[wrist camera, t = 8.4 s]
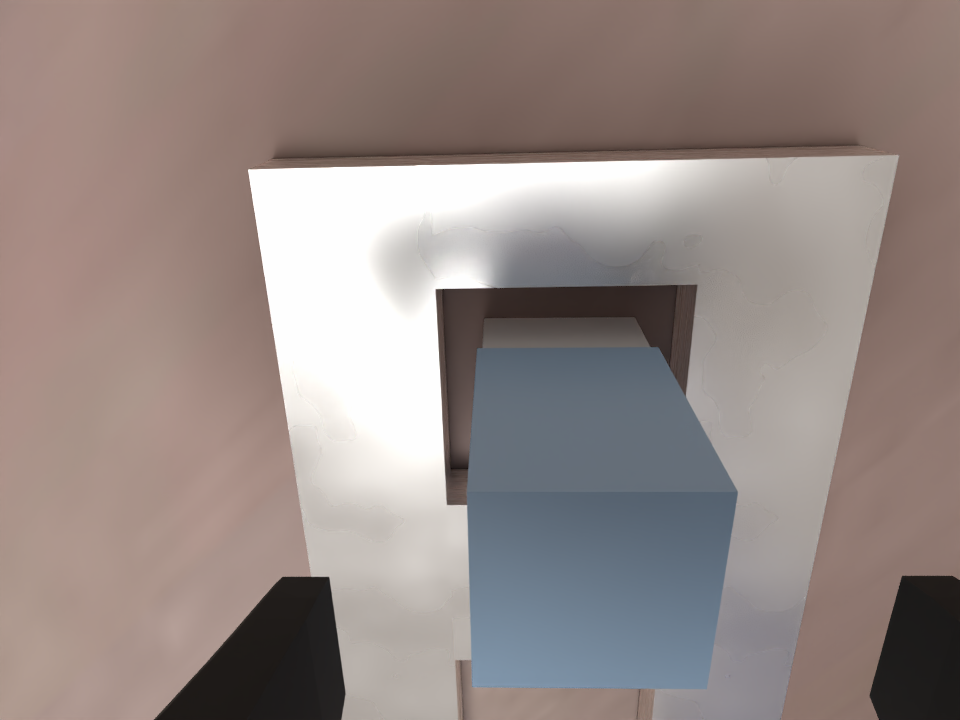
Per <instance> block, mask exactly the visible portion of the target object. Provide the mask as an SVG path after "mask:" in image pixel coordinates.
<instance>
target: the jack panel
mask: <svg viewBox="0 0 960 720" xmlns="http://www.w3.org/2000/svg"><path fill="white" fill-rule="evenodd" d="M898 158H899V155H897V154H893V153H889V152H885V151H881V150H877V149H873V148H869V147H864V146H860V145H855V146H811V147H768V148H724V149H680V150H636V151H593V152H549V153H505V154H462V155H418V156H374V157H330V158H287V159H271V160H268V161H266V162H264V163H262V164H260V165H257V166H255V167H253V168H251V169H249V170H248V171H249V178H250V184H251V191H252V197H253V203H254V210H255V216H256V223H257V229H258V236H259V242H260V249H261V255H262V262H263V268H264V274H265V281H266V287H267V294H268V300H269V307H270V313H271V320H272V326H273V333H274V339H275V345H276V352H277V358H278V365H279V371H280V378H281V384H282V391H283V397H284V404H285V410H286V416H287V423H288V429H289V436H290V442H291V449H292V455H293V462H294V468H295V475H296V481H297V487H298V494H299V500H300V507H301V513H302V520H303V526H304V533H305V539H306V546H307V552H308V558H309V565H310V571H311V577H329V578H330V585H331V592H332V599H333V606H334V613H335V620H336V628H337V635H338V642H339V649H340V656H341V663H342V670H343V678H344V685H345V692H346V695H345V701H344V707H343V713H342V719H341V720H463V706H462V685H461V665H460V660H471V625H470V590H469V554H468V519H467V482H468V469H460V470H451V462H450V441H449V421H448V401H447V380H446V360H445V340H444V319H443V299H442V289H460V288H520V287H581V286H641V285H677V296H676V307H675V317H674V328H673V339H672V350H671V360H670V369H671V371H672V373H673V375H674V377H675V378H676V380H677V382H678V384H679V386H680V387H681V389H682V391H683V393H684V395H685V397H686V398H687V400H688V402H689V404H690V406H691V407H692V409H693V411H694V413H695V415H696V416H697V418H698V420H699V422H700V424H701V426H702V427H703V429H704V431H705V433H706V435H707V436H708V438H709V440H710V442H711V444H712V446H713V447H714V449H715V451H716V453H717V455H718V456H719V458H720V460H721V462H722V464H723V466H724V467H725V469H726V471H727V473H728V475H729V476H730V478H731V480H732V482H733V484H734V486H735V487H736V489H737V491H738V496H737V502H736V509H735V515H734V521H733V528H732V534H731V540H730V546H729V553H728V559H727V565H726V572H725V578H724V584H723V591H722V597H721V603H720V609H719V616H718V622H717V628H716V635H715V641H714V647H713V654H712V660H711V666H710V672H709V679H708V685H707V689H640V695H639V705H638V716H637V720H781V716H782V711H783V707H784V702H785V697H786V692H787V687H788V683H789V678H790V673H791V668H792V664H793V659H794V654H795V649H796V645H797V640H798V635H799V630H800V626H801V621H802V616H803V611H804V606H805V602H806V597H807V592H808V587H809V583H810V578H811V573H812V568H813V564H814V559H815V554H816V549H817V544H818V540H819V535H820V530H821V525H822V521H823V516H824V511H825V506H826V502H827V497H828V492H829V487H830V483H831V478H832V473H833V468H834V463H835V459H836V454H837V449H838V444H839V440H840V435H841V430H842V425H843V421H844V416H845V411H846V406H847V402H848V397H849V392H850V387H851V382H852V378H853V373H854V368H855V363H856V359H857V354H858V349H859V344H860V340H861V335H862V330H863V325H864V321H865V316H866V311H867V306H868V301H869V297H870V292H871V287H872V282H873V278H874V273H875V268H876V263H877V259H878V254H879V249H880V244H881V239H882V235H883V230H884V225H885V220H886V216H887V211H888V206H889V201H890V197H891V192H892V187H893V182H894V178H895V173H896V168H897V163H898Z"/></svg>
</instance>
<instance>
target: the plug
mask: <svg viewBox="0 0 960 720" xmlns="http://www.w3.org/2000/svg"><path fill="white" fill-rule="evenodd" d="M737 496H738V491H737V489H736V487H735V486H734V484H733V482H732V480H731V478H730V476H729V475H728V473H727V471H726V469H725V467H724V466H723V464H722V462H721V460H720V458H719V456H718V455H717V453H716V451H715V449H714V447H713V446H712V444H711V442H710V440H709V438H708V436H707V435H706V433H705V431H704V429H703V427H702V426H701V424H700V422H699V420H698V418H697V416H696V415H695V413H694V411H693V409H692V407H691V406H690V404H689V402H688V400H687V398H686V397H685V395H684V393H683V391H682V389H681V387H680V386H679V384H678V382H677V380H676V378H675V377H674V375H673V373H672V371H671V369H670V367H669V366H668V364H667V362H666V360H665V358H664V357H663V355H662V353H661V351H660V349H659V347H650V345H649V344H648V342H647V340H646V338H645V336H644V334H643V332H642V330H641V328H640V326H639V324H638V323H637V321H636V319H635V317H593V318H484V329H483V347H482V348H477V357H476V371H475V385H474V399H473V412H472V426H471V440H470V454H469V468H468V482H467V519H468V554H469V590H470V625H471V660H472V687H504V688H623V689H707V685H708V679H709V672H710V666H711V660H712V654H713V647H714V641H715V635H716V628H717V622H718V616H719V609H720V603H721V597H722V591H723V584H724V578H725V572H726V565H727V559H728V553H729V546H730V540H731V534H732V528H733V521H734V515H735V509H736V502H737Z"/></svg>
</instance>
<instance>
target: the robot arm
mask: <svg viewBox="0 0 960 720" xmlns="http://www.w3.org/2000/svg"><path fill="white" fill-rule="evenodd" d="M345 695H346V692H345V685H344V678H343V670H342V663H341V656H340V649H339V642H338V635H337V628H336V620H335V613H334V606H333V599H332V592H331V585H330V578H329V577H282V578H281V579H280V580H279V581H278V582H277V583H276V584H275V585H274V586H273V587H272V588H271V589H270V590H269V592H268V593H267V594H266V595H265V596H264V597H263V598H262V600H261V601H260V602H259V603H258V604H257V605H256V607H255V608H254V609H253V610H252V611H251V612H250V614H249V615H248V616H247V617H246V618H245V619H244V621H243V622H242V623H241V624H240V625H239V626H238V627H237V629H236V630H235V631H234V632H233V633H232V634H231V635H230V637H229V638H228V639H227V640H226V641H225V642H224V643H223V645H222V646H221V647H220V648H219V649H218V650H217V651H216V652H215V654H214V655H213V656H212V657H211V658H210V659H209V660H208V662H207V663H206V664H205V665H204V666H203V667H202V668H201V669H200V670H199V671H198V673H197V674H196V675H195V676H194V677H193V678H192V679H191V680H190V681H189V682H188V683H187V684H186V686H185V687H184V688H183V689H182V690H181V691H180V692H179V693H178V694H177V695H176V696H175V698H174V699H173V700H172V701H171V702H170V703H169V704H168V705H167V706H166V707H165V708H164V709H163V711H162V712H161V713H160V714H159V715H158V716H157V717H156V718H155V719H154V720H341V719H342V713H343V707H344V701H345ZM870 698H871V701H872V703H873V706H874V708H875V711H876V713H877V716H878V718H879V720H960V580H958V579H957V578H955V577H953V576H902V578H901V582H900V585H899V589H898V593H897V596H896V600H895V604H894V607H893V611H892V615H891V618H890V622H889V626H888V630H887V633H886V637H885V641H884V644H883V648H882V652H881V655H880V659H879V663H878V666H877V670H876V674H875V677H874V681H873V685H872V688H871V692H870Z"/></svg>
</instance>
